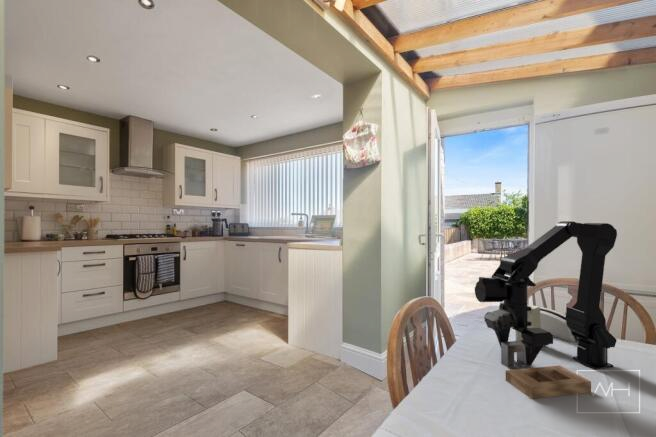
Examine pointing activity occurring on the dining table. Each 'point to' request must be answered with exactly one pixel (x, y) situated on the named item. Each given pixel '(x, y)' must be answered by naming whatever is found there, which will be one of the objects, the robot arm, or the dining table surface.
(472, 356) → the dining table surface
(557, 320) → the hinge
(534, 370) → the two-slot wooden tray
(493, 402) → the dining table surface
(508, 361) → the clip
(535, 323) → the skincare box
